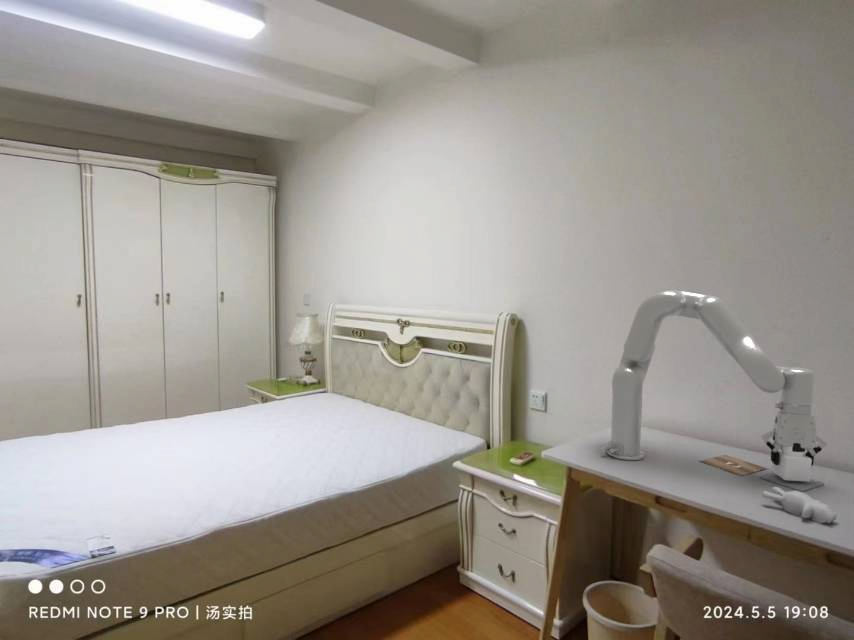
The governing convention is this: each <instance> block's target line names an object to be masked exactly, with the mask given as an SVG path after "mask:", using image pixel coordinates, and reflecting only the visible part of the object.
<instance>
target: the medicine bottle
mask: <svg viewBox="0 0 854 640" xmlns="http://www.w3.org/2000/svg"><path fill="white" fill-rule="evenodd" d="M778 452H779V463H778V465H775V464H774V463H773V462H772V461H771V462H772V463H771V465H772V466H771V473H772V472H774V473H775V474H776V475H778V476H779V477H781V478H782V479H784V480H789V481H806V482H809V481H810V479H811V475H812V474H811V473H812V467H811V463H812V459H811V458H809V457H807V456H806V455H805V453H806V449H805V448H801V444H799V443H793V447H785V446H781V448H780V449H779V450H778Z"/></svg>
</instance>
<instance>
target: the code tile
mask: <svg viewBox="0 0 854 640" xmlns="http://www.w3.org/2000/svg"><path fill="white" fill-rule="evenodd" d="M699 463H702V464H704V463H705V464H704V465H707V464H708V466H710V465H711V467H713V466H714V468H716V467H717V469H719V468H720V469H719V470H722V469H723V470H722V471H725V472H727V471H728V473H730V472H731V474H733V473H734V475H736V474H737V476H739V475H740V477H744V476H748V475H751V474H755V473H758V472H760V470H762V471H765V470H768V469H767V467H764V466H761V465H759V464H755V463H753V462H749V461H747V460H742V459H739V458H736V457H733V456H730V455H726V454H723V455H719V456H715V457H714V456H713V457H711V458H707V459H702V460H699ZM764 469H765V470H764ZM757 471H758V472H757ZM747 474H748V475H747Z"/></svg>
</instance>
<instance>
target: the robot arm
mask: <svg viewBox="0 0 854 640" xmlns="http://www.w3.org/2000/svg"><path fill="white" fill-rule="evenodd" d="M634 315H635V316H634V319H633V320H632V323H631V326H630V329H629V331H628V332H629V333H628V335H627V338H626V339H625V342H624V346H623V352H622V356H621V359H620V361H619V365H618V367H617V368H616V369H615V371H614V372H613V376H612V380H611V382H612V383H611V384H612V385H611V386H612V387H611V389H612V403H611V404H612V405H611V431H610V433H611V435H610V436H611V437H610V440H609V441H608V444H607V445H603V446H601V447H600V448H601V451H602V452H603V453H606V452H607V453H608V454H609V455H608V454H607V453H606V454H607V455H608V456H610V455H611V456H610V457H612V456H613V457H612V458H614V459H615V458H616V459H618V460H624V461H639V460H643V459H644V458H645V455H646V453H645V452H644V451H643V450H641V436H642V418H643V417H642V413H643V412H642V411H643V408H642V407H643V385H644V381H645V379H646V377H647V374H648V373H647V372H648V370H649V367H650V365H651V362H652V359H653V355H654V352H655V349H656V343H655V342H656V339H657V335H658V333H659V331H660V329H661V328H660V327H661V325H662V322H663V321H664V319H666V318H667V317H675V316H676V317H677V316H679V317H685V318H688V319H689V318H690V319H696V320H700V321H701V323H703V325H704V326H705V327H706V328H707V330H708V331H710V333H711V334H712V336H713V337H714V338H715V339H716V341H717V342H718V343H719V344H720V345H721V346H722V348H723V349H724V350H725V351H726V353H727V354H728V355H730V356H731V357H732V358H733V360H734V361H735V362H736V363H737V364H738V365H739V367H740V368H741V369H742V370H743V371H744V373H745V374H746V375H747V376H748V378H750V380H751V381H752V382H753V383H754V385H755V386H756V387H757V388H758V389H759V390H760V391H761V392H764V393H768V394H775V393H779V392H781V395H780V396H781V398H780V401H779V403H775V406H774V407H775V408H776V409H779V410H777V413H776V415H775V419H774V424H773V428H772V430H771V431H769V432H766V433H764V434H762V435H761V436H760V437H761V439H762V441H763V443H764V444H765V445H766V446H767V447H768V449H770V461H771V462H773V463H774V464H775V465H778V463H779V452H778V450H781V449H780V448H781V446H785V447H793V443H799V444H801V448H805V451H806V452H805V454H804V455H806V456H807V457H809V458H811V459H812V463H811V468H812V466H814V461H815V457H816V456H817V454H818V453H820V452H821V451H822V449H824V448H825V447H826V446H827V444H828V443H827V442H826V441H824V440H823V439H822V438H821V437H819V436H817V425H816V418H815V414H812V409H813V408H812V407H813V405H812V404H813V397H814V395H813V394H814V381H815V373H814V371H813V370H811V369H809V368H804V367H798V366H797V367H796V366H795V367H794V366H793V367H792V366H791V367H790V366H789V367H786V366H779V365H775V364H774V362H773V361H772V360H771V358H769V356H768V355H767V354H766V353H765V351H764V350H763V349H762V348H761V346H760V345H759V343H758V342H757V341H756V340H755V338H754V336H753V335H752V334H751V332H750V331H749V330H748V329H747V328H746V327H745V325H744V324H743V323H742V322H741V320H739V319H738V318H737V317H738V316H736V315H735V313H733V312H732V310H731V309H730V307H728V305H727V304H726V303H725V302H724V301H723V300H722V299H721V298H719V297H718V296H716V295H708V294H701V293H694V292H687V291H682V290H675V289H674V290H673V289H669V290H664V291H660V292H656V293H654V294H652V295H649V297H647V298H646V299H644V300H643V301H642V303H640V305H639V307H638V308H637V310H636V313H635V314H634ZM771 438H772V441H774V442H771V441H770V439H771Z"/></svg>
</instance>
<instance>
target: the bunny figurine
mask: <svg viewBox="0 0 854 640" xmlns="http://www.w3.org/2000/svg"><path fill="white" fill-rule="evenodd" d="M773 492H774V493H773ZM761 496H762V497H763V498H764V499H768V500H769V499H770V500H775V501H780V503H781V506H782V507H783V509H784V511H786V512H787V513H790V514H792V515H794V516H800V517H801V518H804V519H810V520H812V521H813V522H814V523H817V524H824V523H828V524H830V523H832V522H834V521H836V520H837V516H838V513H836V512H835V511H834V510H833V509H832V508H831V507H830V506H829V505H828V504H826V503H823V502H822V501H820V500H818V499H813V497H811V496H810V495H808V494H806V493H805V492H800V491H797V490H790V491H785V490H783V489H782V488H781V487H778V486H773V487H772V492H771V491H767V490H763V492H762V494H761Z"/></svg>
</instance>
